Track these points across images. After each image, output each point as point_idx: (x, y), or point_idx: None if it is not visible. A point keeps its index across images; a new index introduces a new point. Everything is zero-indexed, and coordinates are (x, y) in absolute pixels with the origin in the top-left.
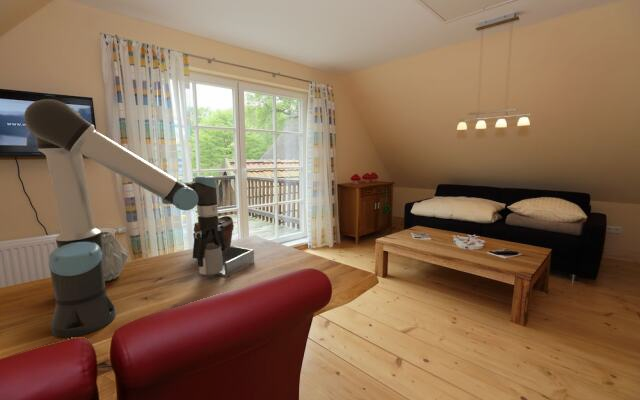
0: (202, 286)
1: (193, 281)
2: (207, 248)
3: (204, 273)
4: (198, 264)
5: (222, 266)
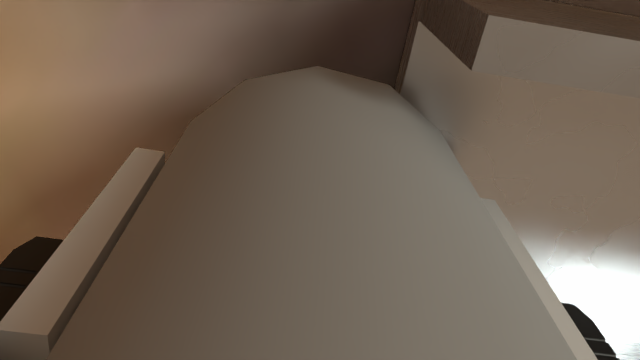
0: (66, 218)
1: (110, 42)
2: (528, 344)
3: None
4: (2, 277)
5: (569, 169)
